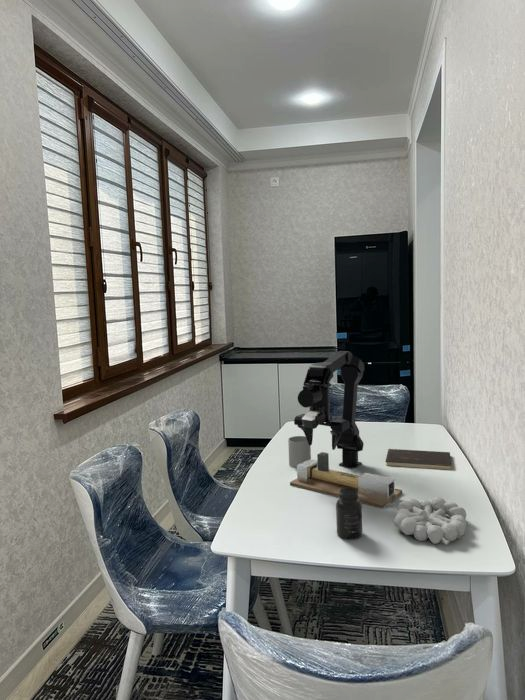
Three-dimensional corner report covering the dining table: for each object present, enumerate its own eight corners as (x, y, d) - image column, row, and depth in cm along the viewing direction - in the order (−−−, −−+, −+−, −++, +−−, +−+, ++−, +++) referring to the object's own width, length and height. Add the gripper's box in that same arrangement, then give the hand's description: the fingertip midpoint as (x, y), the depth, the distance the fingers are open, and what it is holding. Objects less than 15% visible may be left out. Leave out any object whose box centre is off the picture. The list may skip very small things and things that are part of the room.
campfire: (490, 542, 128) (490, 519, 127) (412, 552, 124) (411, 529, 124) (446, 508, 149) (445, 489, 149) (378, 516, 146) (377, 496, 146)
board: (312, 472, 182) (312, 470, 182) (402, 493, 161) (402, 490, 161) (289, 484, 171) (289, 482, 171) (382, 508, 150) (382, 505, 150)
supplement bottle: (334, 529, 138) (333, 486, 136) (358, 527, 138) (357, 485, 137) (339, 541, 131) (338, 496, 130) (365, 539, 131) (365, 494, 130)
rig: (310, 473, 179) (309, 458, 179) (396, 492, 159) (396, 476, 158) (297, 480, 173) (296, 465, 172) (385, 501, 153) (385, 484, 152)
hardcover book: (451, 471, 180) (451, 465, 180) (385, 467, 187) (385, 461, 187) (449, 457, 195) (449, 451, 195) (388, 453, 202) (388, 448, 202)
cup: (313, 462, 194) (312, 436, 193) (308, 469, 186) (307, 442, 185) (292, 460, 197) (291, 435, 196) (286, 467, 189) (285, 441, 188)
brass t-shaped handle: (309, 473, 176) (309, 449, 175) (368, 486, 162) (368, 460, 161) (305, 475, 174) (304, 451, 173) (364, 489, 160) (363, 463, 159)
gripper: (283, 403, 168) (285, 449, 170) (332, 409, 156) (333, 458, 158) (302, 397, 177) (304, 441, 178) (350, 402, 165) (351, 449, 166)
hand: (321, 447), depth 170 cm, fingers open, 9 cm apart
